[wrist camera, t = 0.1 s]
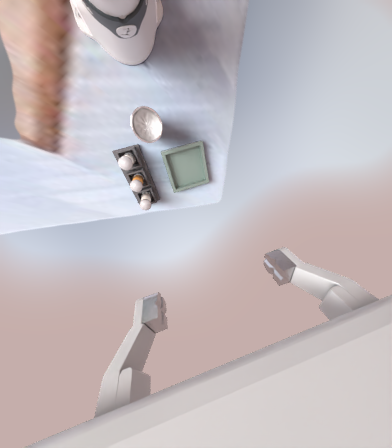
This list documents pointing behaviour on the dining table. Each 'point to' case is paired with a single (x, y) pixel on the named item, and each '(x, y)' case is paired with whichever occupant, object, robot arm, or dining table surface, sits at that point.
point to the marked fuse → (137, 182)
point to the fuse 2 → (145, 200)
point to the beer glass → (146, 124)
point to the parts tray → (186, 166)
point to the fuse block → (138, 168)
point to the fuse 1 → (127, 161)
